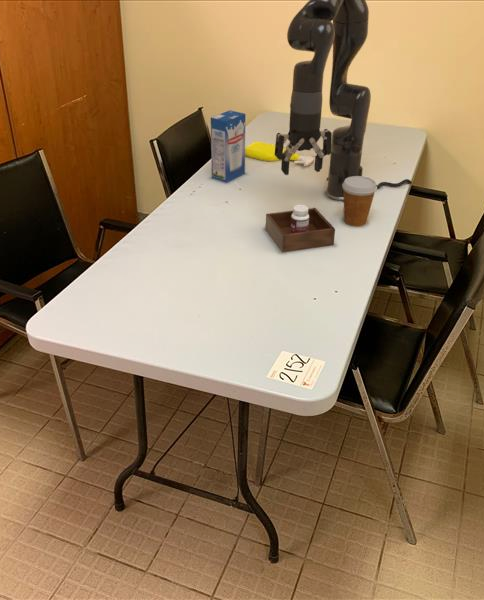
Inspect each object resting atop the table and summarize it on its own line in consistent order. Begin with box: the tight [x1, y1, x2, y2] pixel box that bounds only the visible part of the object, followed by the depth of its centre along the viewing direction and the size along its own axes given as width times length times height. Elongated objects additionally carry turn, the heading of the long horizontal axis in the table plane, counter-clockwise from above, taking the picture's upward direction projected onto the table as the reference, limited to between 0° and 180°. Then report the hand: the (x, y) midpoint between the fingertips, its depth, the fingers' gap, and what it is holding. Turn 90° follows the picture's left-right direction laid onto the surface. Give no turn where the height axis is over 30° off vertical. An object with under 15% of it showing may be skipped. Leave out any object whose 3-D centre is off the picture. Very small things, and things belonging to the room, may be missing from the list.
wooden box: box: [265, 207, 336, 253], centre depth 162 cm, size 15×14×5 cm
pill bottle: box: [290, 204, 309, 234], centre depth 161 cm, size 5×5×8 cm
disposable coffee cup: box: [342, 175, 378, 227], centre depth 168 cm, size 10×10×12 cm
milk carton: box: [210, 110, 246, 184], centre depth 193 cm, size 10×6×20 cm, turn 143°
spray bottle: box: [245, 141, 314, 167], centre depth 212 cm, size 3×11×24 cm
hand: (301, 172), depth 153 cm, fingers open, 8 cm apart
